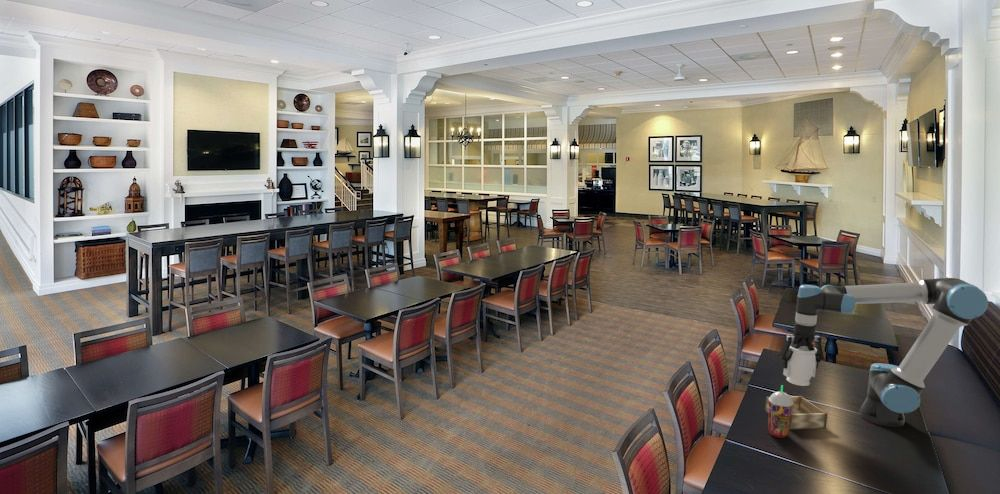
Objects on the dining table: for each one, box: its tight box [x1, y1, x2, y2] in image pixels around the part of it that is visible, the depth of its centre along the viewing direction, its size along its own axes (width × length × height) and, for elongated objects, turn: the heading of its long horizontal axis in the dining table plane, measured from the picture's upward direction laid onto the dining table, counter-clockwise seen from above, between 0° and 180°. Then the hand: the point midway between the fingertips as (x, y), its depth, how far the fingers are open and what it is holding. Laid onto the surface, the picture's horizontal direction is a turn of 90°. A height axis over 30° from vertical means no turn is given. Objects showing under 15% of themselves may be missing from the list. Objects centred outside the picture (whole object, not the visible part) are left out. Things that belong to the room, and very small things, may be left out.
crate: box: [764, 395, 828, 430], centre depth 222 cm, size 16×17×6 cm
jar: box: [786, 343, 817, 387], centre depth 220 cm, size 11×10×15 cm
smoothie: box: [767, 384, 793, 439], centre depth 208 cm, size 8×8×20 cm
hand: (798, 375), depth 221 cm, fingers closed on jar, 10 cm apart
